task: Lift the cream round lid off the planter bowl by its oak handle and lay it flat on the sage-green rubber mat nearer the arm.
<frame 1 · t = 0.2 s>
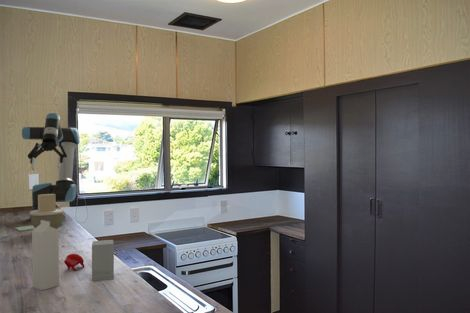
hand: (45, 168, 215), 36 cm above the countertop, tool tilted 35°, fingers open, 13 cm apart
cap: (74, 269, 150), on the countertop
milk: (46, 286, 131), on the countertop
mat: (27, 228, 226), on the countertop
planter bowl: (47, 233, 216), on the countertop, touching lid
lid: (46, 213, 215), point 11 cm above the countertop, touching planter bowl
supplement box: (103, 277, 140), on the countertop
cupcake: (57, 225, 236), on the countertop
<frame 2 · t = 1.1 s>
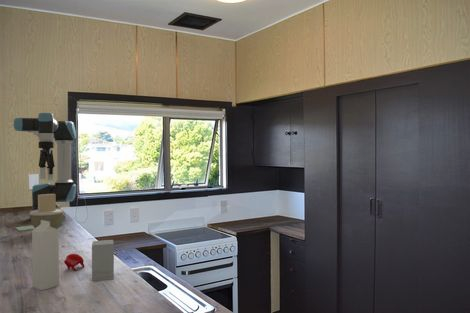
hand: (46, 179, 215), 29 cm above the countertop, tool pointing down, fingers open, 13 cm apart
nothing on the countertop moved.
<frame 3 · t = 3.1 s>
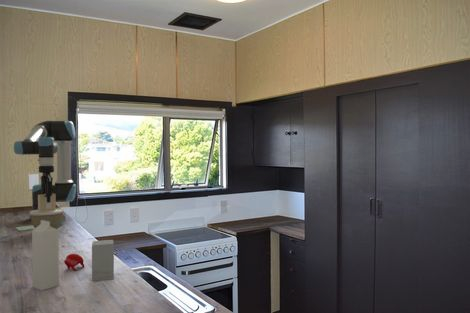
hand: (46, 207, 215), 14 cm above the countertop, tool pointing down, fingers closed on lid, 4 cm apart
lid: (47, 212, 215), point 11 cm above the countertop, touching gripper, planter bowl
everything else where it was.
when the fingers open (5 cm above the countertop, at t = 9.6 s): lid drops 2 cm, resting on mat.
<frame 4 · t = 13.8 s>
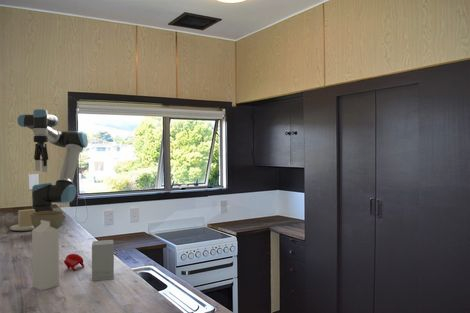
hand: (41, 171, 233), 33 cm above the countertop, tool pointing down, fingers open, 13 cm apart
planter bowl: (47, 233, 216), on the countertop
lid: (27, 227, 226), point 1 cm above the countertop, touching mat
everything else where it was.
at the end: lid inside the target area on the mat (0.0 cm from its centre), point 0.6 cm above the mat's base; the gripper is holding nothing; planter bowl moved 0.3 cm from its start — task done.
